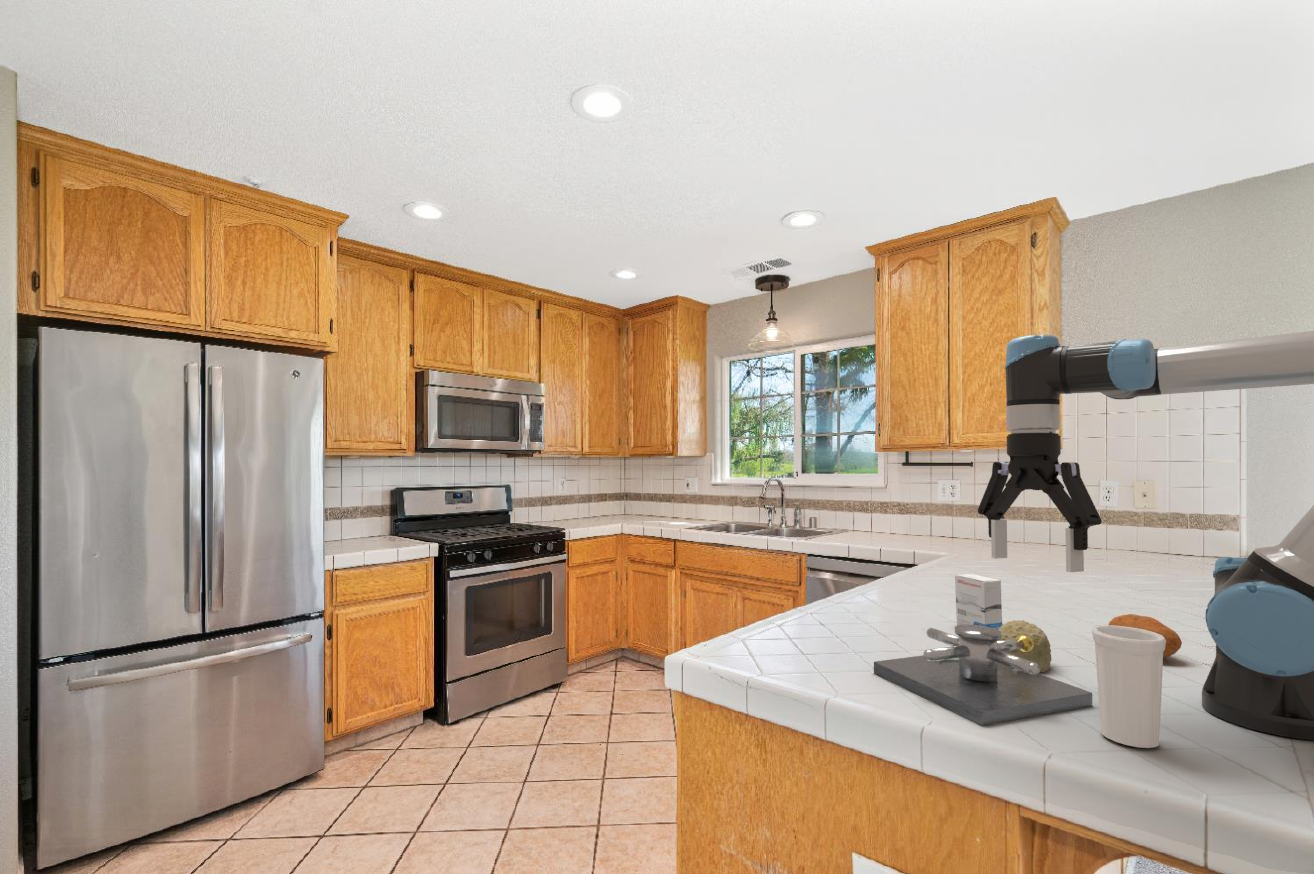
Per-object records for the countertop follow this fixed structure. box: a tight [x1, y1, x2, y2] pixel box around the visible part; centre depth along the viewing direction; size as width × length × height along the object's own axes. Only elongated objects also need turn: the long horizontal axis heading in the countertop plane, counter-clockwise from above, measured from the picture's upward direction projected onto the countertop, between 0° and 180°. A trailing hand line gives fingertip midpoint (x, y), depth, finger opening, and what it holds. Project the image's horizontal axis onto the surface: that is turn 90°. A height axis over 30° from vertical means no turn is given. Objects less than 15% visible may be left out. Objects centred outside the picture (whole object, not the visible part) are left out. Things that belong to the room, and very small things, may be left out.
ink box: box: [954, 573, 1003, 630], centre depth 139 cm, size 9×5×12 cm, turn 17°
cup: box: [1091, 624, 1166, 749], centre depth 85 cm, size 8×8×14 cm
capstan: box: [922, 625, 1041, 681], centre depth 104 cm, size 22×22×7 cm
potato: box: [1108, 613, 1183, 659], centre depth 122 cm, size 9×11×8 cm
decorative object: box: [997, 619, 1052, 674], centre depth 116 cm, size 9×10×10 cm
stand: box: [873, 654, 1093, 727], centre depth 104 cm, size 23×22×2 cm
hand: (1034, 564), depth 102 cm, fingers open, 13 cm apart
